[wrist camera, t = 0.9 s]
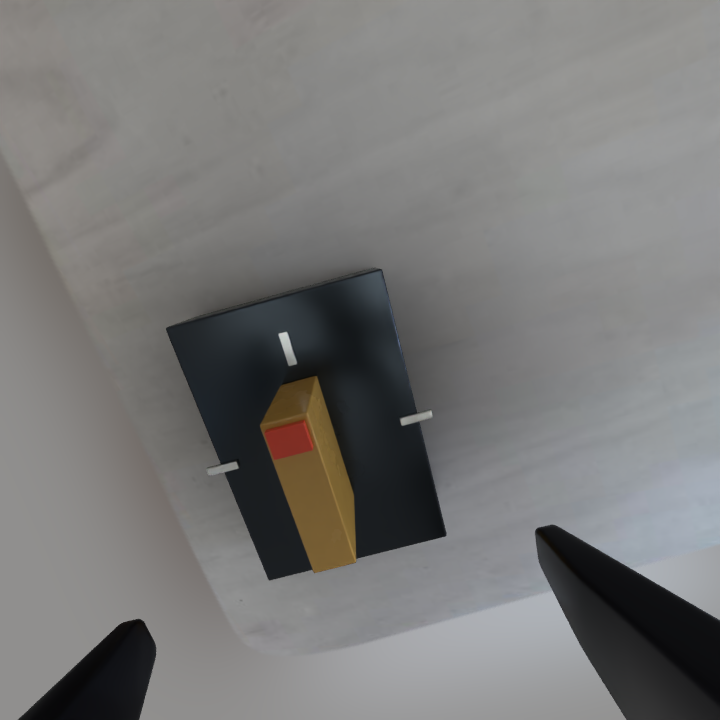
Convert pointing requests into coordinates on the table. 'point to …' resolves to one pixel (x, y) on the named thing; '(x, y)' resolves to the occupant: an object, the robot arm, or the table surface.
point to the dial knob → (312, 473)
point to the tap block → (343, 401)
